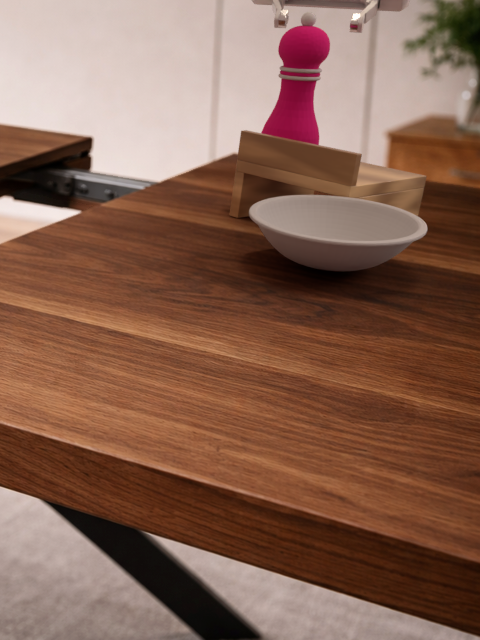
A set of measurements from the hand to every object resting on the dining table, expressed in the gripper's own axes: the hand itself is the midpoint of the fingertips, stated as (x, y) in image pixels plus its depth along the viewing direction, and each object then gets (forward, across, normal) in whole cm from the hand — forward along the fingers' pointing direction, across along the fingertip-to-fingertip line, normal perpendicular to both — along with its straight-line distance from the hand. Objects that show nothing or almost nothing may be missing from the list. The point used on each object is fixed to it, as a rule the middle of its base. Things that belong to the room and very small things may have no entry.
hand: (317, 26), depth 123 cm
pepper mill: (+18, 0, +7) cm, 20 cm away
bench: (+36, +8, -10) cm, 38 cm away
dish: (+48, +11, -22) cm, 54 cm away
